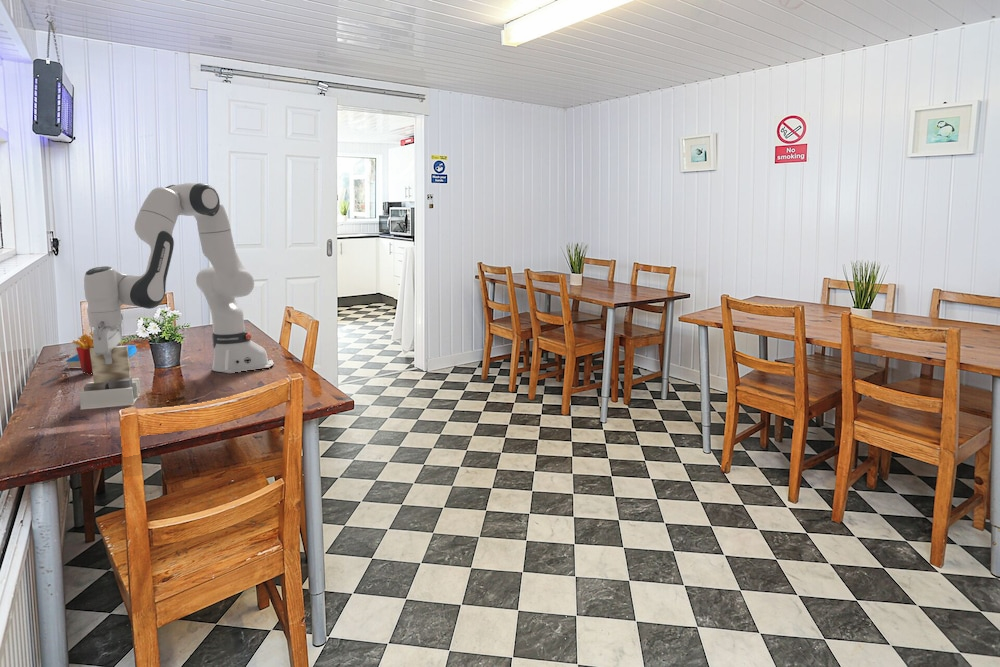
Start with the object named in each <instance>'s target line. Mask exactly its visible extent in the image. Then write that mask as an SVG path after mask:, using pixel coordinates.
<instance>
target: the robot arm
mask: <svg viewBox="0 0 1000 667" xmlns="http://www.w3.org/2000/svg"><path fill="white" fill-rule="evenodd" d="M219 196H220V195H219V194H218V191H217V190H216V189H215V187H213V186H211V185H209V184H207V183H201V182H200V183H194V182H193V183H191V182H187V183H186V182H184V183H179V184H170V185H168V186H166V187H161V186H160V187H155V188H153V189H152V190H151V191H150V192H149V194H148V195H147V197H146V198H145V199H144V201H143V203H142V205H141V207H140V210H139V212H138V214H137V216H136V218H135V221H134V232H135V233H136V235H137V237H138V238H139V239H140V240H141V241H143V243H146V244H147V245H148V246H149V248H150V254H149V258H148V261H147V266H146V270H145V272H144V273H143V274H141V275H129V274H125V273H122V272H120V271H118V270H116V269H114V268H113V267H112V266H109V265H108V266H98V267H97V266H96V267H93V268H90V269H88V270H87V271H86V272H85V274H84V276H83V277H84V279H83V289H84V298H85V300H86V302H87V309H86V313H87V320H88V327H90V328H94V330H93V331H92V334H93V337H92V338H93V345H94V352H95V354H96V355H103V356H104V358H105V362H106V364H112V363H113V357H112V355H111V353H112V351H111V350H113V349H114V347H116V346H119V344H120V343H121V342H122V339H123V338H122V337H123V330H122V329H123V328H122V324H123V320H124V319H123V318H124V317H123V316H124V315H123V314H122V309H121V305H123V306H131V307H139V308H143V309H144V308H145V309H151V310H152V309H154V308H157V307H158V306H160V305H161V303H162V302H163V301H164V299H165V297H166V284H167V277H168V272H169V269H170V264H171V260H172V257H173V251H174V246H175V242H174V241H175V240H174V238H173V231H174V229H175V226H176V223H177V220H178V217H179V216H191V217H192V216H193V217H194V219H195V220H196V225H197V232H198V237H199V240H200V246H201V250H202V253H203V255H204V257H205V258H206V259H207V260H208V261H209V262H210V264H211V266H210V267H206V268H202V269H201V270H200V271H198V273H197V276H196V279H195V280H196V285H197V287H198V289H199V290H200V291H201V292H202V293H203V295H204V297H205V300H206V302H207V304H208V307H209V310H210V314H211V321H212V322H211V323H212V336H211V339H212V340H211V341H212V346H213V348H214V349H213V361H212V367H211V370H212V371H214V372H220V373H224V374H236V373H235V372H238V373H242V372H241V371H246V372H248V371H247V370H254V369H259V368H266V367H270V366H272V365H273V364H274V365H275V362H273V361H274V360H273V359H271V360H269V361H268V359H269V358H268V353H267V351H266V349H265V347H263V346H261V345H259V344H258V343H256V342H254V341H253V340H251V338H252V334H251V333H250V331H246V330H245V322H244V320H245V319H244V312H243V309H242V308H241V307H240V306H239V305H238V303H237V301H236V299H235V298H242V297H245V296H249V295H250V294H252V292H253V290H254V287H255V280H254V277H253V276H252V274H251V273H250V272H249V271H248V270H246V268H245V266H244V264H243V263H242V262H241V259H240V258H239V256H238V253H237V251H236V248H235V244H234V239H233V235H232V230H231V224H230V220H229V217H228V214H227V211H226V209H225V207H224V205H223V204H222V202H221V201H220V197H219ZM254 371H255V370H254Z"/></svg>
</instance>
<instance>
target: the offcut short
mask: <svg viewBox="0 0 1000 667" xmlns="http://www.w3.org/2000/svg"><path fill="white" fill-rule="evenodd" d="M106 389H109V387H108V382H104V383H91V384H88V383H86V384H85V386H83V391H94V390H106Z"/></svg>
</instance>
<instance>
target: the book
mask: <svg viewBox="0 0 1000 667" xmlns="http://www.w3.org/2000/svg"><path fill="white" fill-rule="evenodd" d="M121 346H128V354H129V358H130V357H132V356H134V355H135V354H137V353H138V352H137V351H138V349H137V347H136V345H135V344H127V345H126V344H125V345H123V344H122V345H121ZM134 353H135V354H134ZM131 355H132V356H131ZM65 362H66V364H67V368H68V367H81V364H80V360H79V356H78V353H77V354H75V355H74V356H72V357H70V358H68V359H66V360H65Z"/></svg>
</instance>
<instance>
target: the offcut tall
mask: <svg viewBox="0 0 1000 667" xmlns="http://www.w3.org/2000/svg"><path fill="white" fill-rule="evenodd" d="M132 379H133V377H132V376H131V377H128V378H115V379H111V380H110V381H109V382H108V384H109V389H119V388H131V387H132V388H133V385H132ZM133 397H134V393H133Z"/></svg>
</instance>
